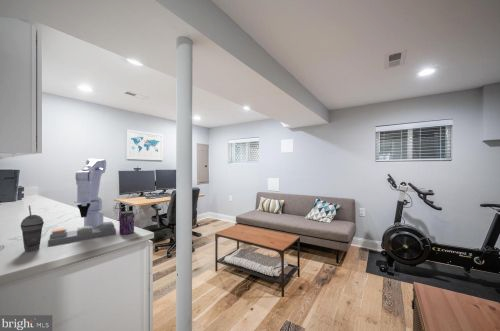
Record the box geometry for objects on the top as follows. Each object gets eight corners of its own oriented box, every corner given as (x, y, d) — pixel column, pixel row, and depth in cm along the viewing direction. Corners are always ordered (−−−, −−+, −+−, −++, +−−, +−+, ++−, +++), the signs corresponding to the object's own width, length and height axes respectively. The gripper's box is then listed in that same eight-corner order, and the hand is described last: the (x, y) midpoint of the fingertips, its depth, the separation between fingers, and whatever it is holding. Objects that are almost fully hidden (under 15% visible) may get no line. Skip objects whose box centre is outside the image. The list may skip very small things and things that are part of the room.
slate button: (111, 224, 119) (111, 221, 119) (112, 226, 115) (112, 223, 115) (102, 226, 116) (102, 222, 116) (102, 227, 113) (103, 224, 113)
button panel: (113, 229, 122) (113, 221, 122) (115, 233, 114) (115, 225, 114) (50, 239, 105) (50, 230, 105) (48, 245, 96) (48, 236, 96)
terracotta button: (64, 231, 106) (64, 228, 106) (64, 233, 102) (64, 229, 102) (53, 233, 103) (53, 229, 103) (52, 235, 100) (52, 231, 100)
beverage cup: (36, 252, 89) (36, 206, 89) (15, 254, 87) (15, 207, 87) (47, 245, 96) (48, 203, 96) (28, 247, 94) (28, 204, 94)
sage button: (89, 229, 112) (89, 226, 112) (89, 231, 109) (89, 227, 109) (79, 231, 109) (79, 227, 109) (79, 233, 106) (79, 229, 106)
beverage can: (127, 235, 111) (127, 213, 111) (116, 234, 112) (116, 212, 112) (136, 231, 118) (137, 210, 118) (126, 230, 119) (126, 210, 119)
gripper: (74, 191, 116) (74, 215, 116) (74, 194, 105) (74, 221, 105) (90, 190, 120) (90, 213, 120) (91, 193, 109) (91, 218, 109)
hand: (83, 217), depth 113 cm, fingers closed
